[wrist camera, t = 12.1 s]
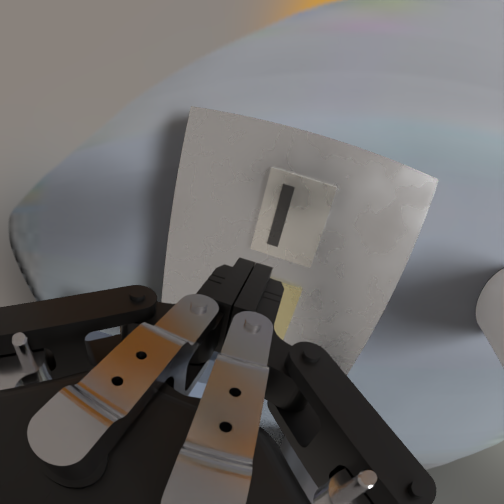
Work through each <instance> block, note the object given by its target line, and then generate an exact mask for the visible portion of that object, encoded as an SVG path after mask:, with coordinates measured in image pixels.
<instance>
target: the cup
mask: <svg viewBox="0 0 504 504" xmlns="http://www.w3.org/2000/svg"><path fill="white" fill-rule="evenodd" d="M476 320H477V323H478V325H479V327H480V328H481V330H482V331H483V333H484V335H485V336H486V338H487V340H488V341H489V343H490V345H491V347H492V348H493V350H494V352H495V354H496V355H497V357H498V359H499V361H500V363H501V365H502V366H503V368H504V269H502V270H500V271H498V272H497V273H496V274H495V275H494V276H493V277H492V278H491V279H490V280H489V281H488V282H487V283H486V285H485V286H484V288H483V290H482V292H481V294H480V296H479V298H478V301H477V305H476Z"/></svg>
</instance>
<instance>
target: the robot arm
mask: <svg viewBox="0 0 504 504" xmlns="http://www.w3.org/2000/svg"><path fill="white" fill-rule="evenodd" d="M272 269H273V267H270V266H267V265H263V264H260V263H256V262H253V261H250V260H247V259H244V258H240V257H239V259H238V260H237V261H236V263H235V264H234V266H233V267H232V266H229V265H225V264H224V265H222V266H219V267H217V268H216V269H215V270H214V271H213V273H212V274H211V275H210V276H209V278H208V280H206V281H205V283H204V284H203V285H202V287H201V288H200V289H199V290H198V292H197V293H196V294H190V295H186V296H184V297H183V298H181V299H180V300H179V301H178V302H177V303H176V304H171V303H163V302H157V296H156V293H155V292H154V291H153V290H152V289H150V288H148V287H145V286H141V285H131V286H126V287H120V288H114V289H108V290H102V291H97V292H91V293H85V294H79V295H73V296H67V297H61V298H55V299H49V300H43V301H37V302H31V303H24V304H18V305H12V306H6V307H0V504H432V503H433V501H434V499H435V496H436V486H435V482H434V480H433V479H432V477H431V476H430V475H429V474H428V472H427V471H426V470H425V469H424V468H423V466H422V465H421V464H420V463H419V462H418V460H417V459H416V458H415V457H414V456H413V455H412V453H411V452H410V451H409V450H408V449H407V447H406V446H405V445H404V444H403V443H402V441H401V440H400V439H399V438H398V437H397V435H396V434H395V433H394V432H393V431H392V430H391V428H390V427H389V426H388V425H387V424H386V422H385V421H384V420H383V419H382V418H381V416H380V415H379V414H378V413H377V412H376V410H375V409H374V408H373V407H372V406H371V404H370V403H369V402H368V401H367V400H366V398H365V397H364V396H363V395H362V394H361V392H360V391H359V390H358V389H357V388H356V386H355V385H354V384H353V383H352V382H351V380H350V379H349V378H348V377H347V376H346V374H345V373H344V372H343V371H342V370H341V368H340V367H339V366H338V365H337V363H336V362H335V361H334V360H333V359H332V357H331V356H330V355H329V354H328V353H327V351H326V350H325V349H323V348H322V347H320V346H319V345H317V344H314V343H311V342H298V343H295V344H294V345H290V344H288V343H286V342H285V341H283V340H282V339H281V338H280V337H279V336H278V335H277V334H276V332H275V329H274V323H275V320H276V316H277V313H278V309H279V306H280V302H281V299H282V295H283V292H284V287H283V285H282V282H281V281H277V280H274V279H271V278H270V277H271V273H272ZM117 326H120V333H121V334H118V335H114V336H109V337H105V338H100V339H96V340H91V341H86V340H85V337H86V336H87V335H88V334H89V333H91V332H93V331H98V330H103V329H108V328H112V327H117ZM214 351H216V352H219V353H220V354H218V355H217V358H216V360H215V363H214V366H213V368H212V371H211V374H210V376H209V379H208V382H207V384H206V387H205V390H204V392H203V395H202V398H197V397H191V396H188V395H189V394H190V392H191V391H192V389H193V388H194V386H195V385H196V383H197V382H198V380H199V379H200V377H201V376H202V374H203V372H204V371H205V369H206V368H207V366H208V364H209V359H210V358H211V356H212V354H213V352H214ZM264 399H266V400H268V402H267V404H268V408H269V410H270V412H271V414H272V415H273V417H274V419H275V420H276V422H277V424H278V425H279V427H280V429H281V430H282V432H283V434H284V435H285V436H284V437H283V439H282V443H281V447H280V448H279V446H278V445H277V444H276V442H275V441H274V440H273V438H272V437H271V436H270V435H269V434H268V433H267V432H266V431H264V430H263V429H262V428H261V427H259V424H260V419H261V414H262V408H263V402H264Z"/></svg>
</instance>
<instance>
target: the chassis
mask: <svg viewBox="0 0 504 504" xmlns="http://www.w3.org/2000/svg"><path fill="white" fill-rule="evenodd" d="M437 183H438V179H436V178H434V177H432V176H429V175H427V174H425V173H423V172H420V171H418V170H416V169H413V168H411V167H409V166H406V165H404V164H401V163H399V162H396V161H394V160H391V159H389V158H386V157H383V156H381V155H378V154H375V153H373V152H370V151H367V150H364V149H361V148H358V147H356V146H353V145H350V144H347V143H344V142H341V141H337V140H334V139H331V138H328V137H325V136H321V135H318V134H314V133H311V132H308V131H304V130H300V129H297V128H293V127H289V126H285V125H281V124H277V123H273V122H269V121H265V120H261V119H256V118H252V117H247V116H242V115H237V114H232V113H227V112H222V111H216V110H211V109H205V108H199V107H192V106H191V109H190V113H189V118H188V123H187V127H186V132H185V137H184V142H183V147H182V153H181V158H180V163H179V169H178V175H177V181H176V187H175V193H174V199H173V206H172V213H171V220H170V227H169V235H168V243H167V251H166V260H165V269H164V279H163V290H162V302H163V303H171V304H176V303H177V302H178V301H179V300H180V299H181V298H183V297H184V296H186V295H190V294H196V293H197V292H198V290H199V289H200V288H201V287H202V285H203V284H204V283H205V281H206V280H208V278H209V276H210V275H211V274H212V273H213V271H214V270H215V269H216V268H217V267H219V266H222V265H224V264H225V265H229V266H232V267H233V266H234V264H235V263H236V261H237V260H238V259H239V257H240V258H244V259H247V260H250V261H253V262H256V263H260V264H263V265H267V266H270V267H273V269H272V273H271V277H270V278H271V279H274V280H277V281H281V282H282V285H283V287H284V292H283V295H282V299H281V302H280V306H279V309H278V313H277V316H276V320H275V323H274V329H275V332H276V334H277V335H278V336H279V337H280V338H281V339H282V340H283V341H285V342H286V343H288V344H290V345H294V344H295V343H298V342H311V343H314V344H317V345H319V346H320V347H322V348H323V349H325V350H326V351H327V353H328V354H329V355H330V356H331V357H332V359H333V360H334V361H335V362H336V363H337V365H338V366H339V367H340V368H341V370H342V371H343V372H344V373H345V374H346V376H347V374H348V373H349V371H350V369H351V368H352V366H353V364H354V363H355V361H356V360H357V358H358V356H359V355H360V353H361V351H362V349H363V348H364V346H365V344H366V343H367V341H368V339H369V337H370V336H371V334H372V332H373V330H374V328H375V326H376V325H377V323H378V321H379V319H380V317H381V315H382V313H383V311H384V310H385V308H386V306H387V304H388V302H389V300H390V298H391V296H392V294H393V292H394V290H395V288H396V285H397V283H398V281H399V279H400V277H401V275H402V273H403V270H404V268H405V266H406V264H407V262H408V259H409V257H410V255H411V252H412V250H413V248H414V245H415V243H416V240H417V238H418V235H419V233H420V230H421V228H422V225H423V223H424V220H425V217H426V215H427V212H428V209H429V206H430V204H431V201H432V198H433V195H434V192H435V189H436V186H437ZM218 354H220V353H219V352H216V351H214V352H213V354H212V356H211V358H210V359H209V360H212V361H215V360H216V358H217V355H218Z"/></svg>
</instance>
